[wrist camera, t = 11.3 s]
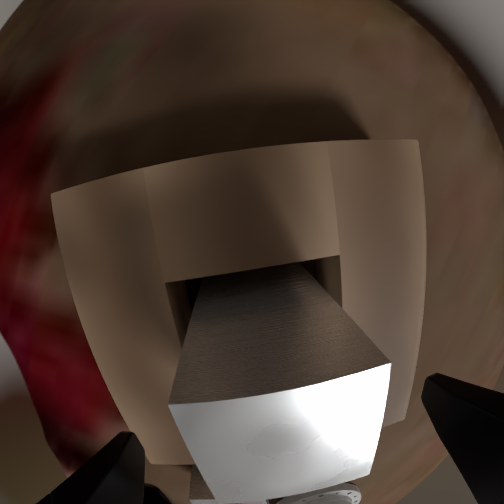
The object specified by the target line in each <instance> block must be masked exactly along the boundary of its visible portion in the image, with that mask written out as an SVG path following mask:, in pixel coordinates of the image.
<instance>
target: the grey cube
mask: <svg viewBox="0 0 504 504" xmlns="http://www.w3.org/2000/svg"><path fill="white" fill-rule="evenodd" d="M189 500H190V502H191V503H192V504H218V502H217V501H216V499H215V497H214V496H213V494H212V492H211V491H210V489H209V487H208V485H207V484H206V482H205V480H204V478H203V476H202V475H201V473H200V471H199V469H198V467H197V465H196V464H192V470H191V482H190V494H189ZM227 504H269V500H268V499H267V500H259V501H251V502H240V503H227Z"/></svg>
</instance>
